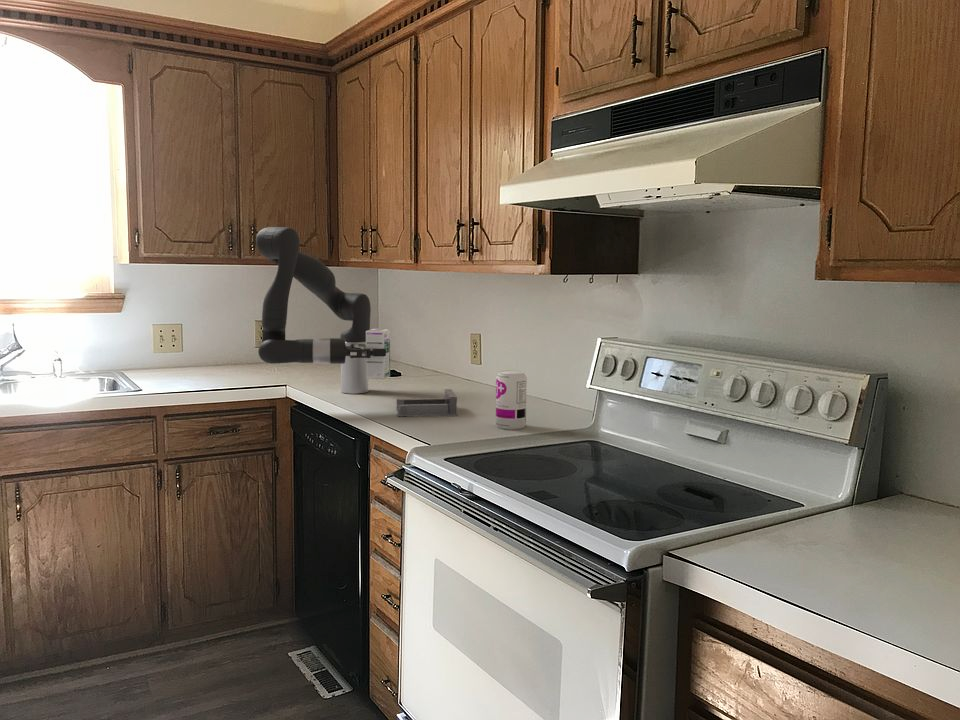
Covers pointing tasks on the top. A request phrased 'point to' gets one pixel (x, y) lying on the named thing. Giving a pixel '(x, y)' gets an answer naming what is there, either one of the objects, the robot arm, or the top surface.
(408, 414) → the bracket
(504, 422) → the supplement can
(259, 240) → the robot arm
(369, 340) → the syrup box
